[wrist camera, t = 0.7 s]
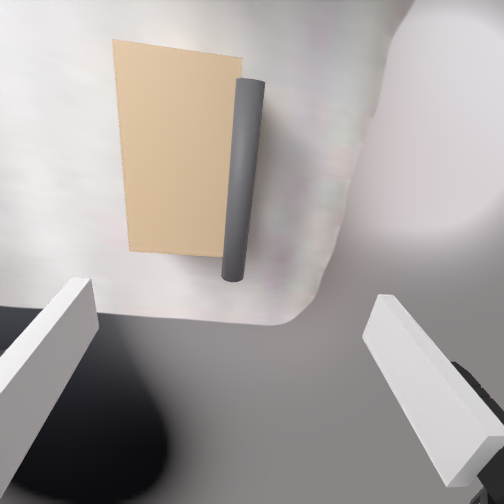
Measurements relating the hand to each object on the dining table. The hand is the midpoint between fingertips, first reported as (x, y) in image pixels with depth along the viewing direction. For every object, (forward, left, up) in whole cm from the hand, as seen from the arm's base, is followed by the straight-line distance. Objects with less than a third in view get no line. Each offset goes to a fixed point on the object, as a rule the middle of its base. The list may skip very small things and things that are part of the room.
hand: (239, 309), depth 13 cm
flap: (-3, -5, -18) cm, 19 cm away
